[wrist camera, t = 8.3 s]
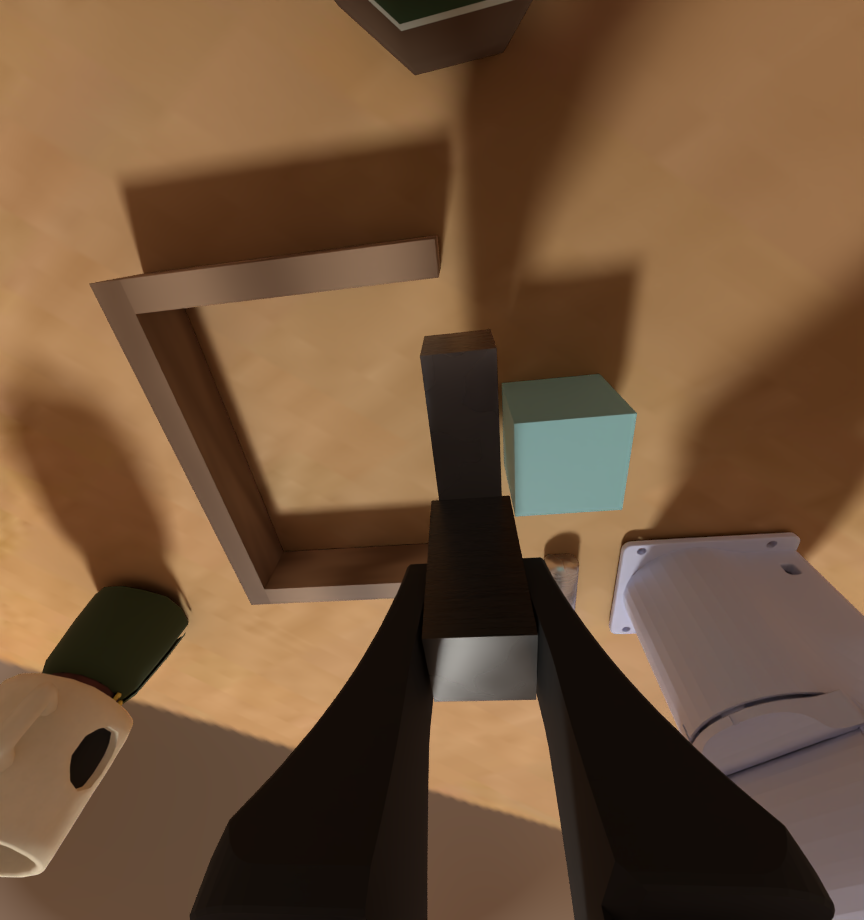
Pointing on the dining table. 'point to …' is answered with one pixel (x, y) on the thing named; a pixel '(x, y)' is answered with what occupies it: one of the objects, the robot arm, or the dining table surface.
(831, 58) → the dining table surface
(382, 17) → the beer bottle
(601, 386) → the teal block
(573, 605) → the steel rod
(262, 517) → the wooden u-shaped frame
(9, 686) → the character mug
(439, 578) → the dark grey bar
